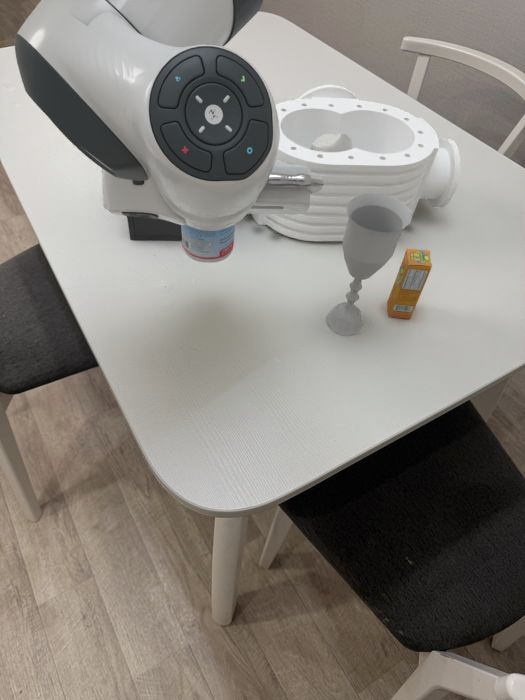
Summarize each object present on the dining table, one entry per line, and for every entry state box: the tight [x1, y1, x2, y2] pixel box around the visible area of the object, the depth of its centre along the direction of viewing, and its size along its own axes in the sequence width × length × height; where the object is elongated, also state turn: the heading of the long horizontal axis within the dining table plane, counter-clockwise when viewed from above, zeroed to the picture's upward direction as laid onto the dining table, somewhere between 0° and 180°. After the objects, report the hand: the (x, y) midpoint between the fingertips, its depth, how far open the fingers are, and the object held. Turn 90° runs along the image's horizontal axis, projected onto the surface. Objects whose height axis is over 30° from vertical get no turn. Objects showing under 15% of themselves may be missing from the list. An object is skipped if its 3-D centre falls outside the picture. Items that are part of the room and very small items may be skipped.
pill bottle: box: [181, 224, 236, 264], centre depth 57 cm, size 6×6×11 cm
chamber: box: [126, 216, 182, 242], centre depth 78 cm, size 14×12×8 cm
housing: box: [251, 84, 461, 242], centre depth 81 cm, size 35×22×14 cm, turn 96°
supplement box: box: [386, 248, 433, 320], centre depth 68 cm, size 3×3×10 cm
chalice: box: [325, 193, 413, 336], centre depth 63 cm, size 7×7×18 cm
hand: (207, 202), depth 57 cm, fingers closed on pill bottle, 6 cm apart
